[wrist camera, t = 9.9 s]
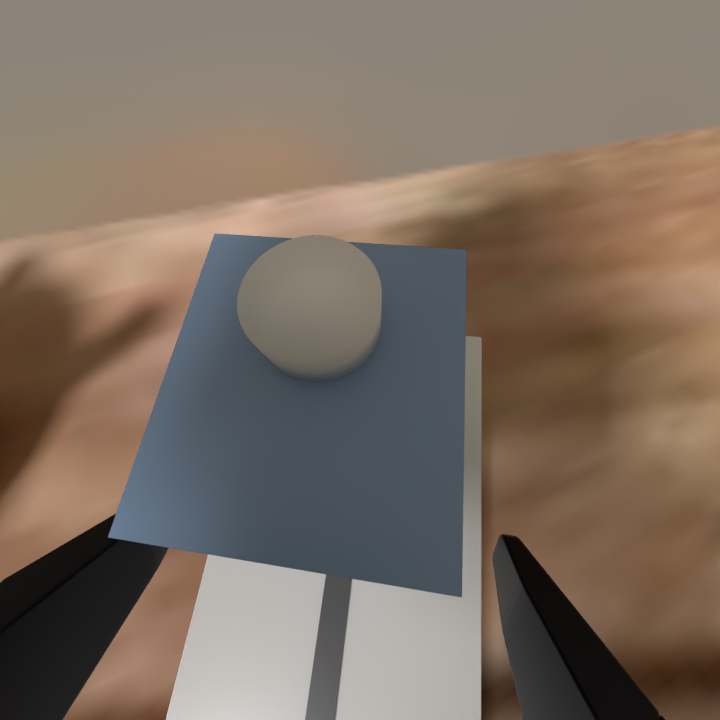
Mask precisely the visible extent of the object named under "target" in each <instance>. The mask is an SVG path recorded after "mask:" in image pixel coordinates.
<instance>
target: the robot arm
mask: <svg viewBox="0 0 720 720" xmlns="http://www.w3.org/2000/svg"><path fill="white" fill-rule="evenodd" d="M115 515H116V514H114V515H113V516H111V517H109V518H108V519H106V520H104V521H103V522H101V523H99V524H97V525H96V526H94V527H92V528H91V529H89V530H87V531H86V532H84V533H82V534H80V535H79V536H77V537H75V538H74V539H72V540H70V541H68V542H67V543H65V544H63V545H62V546H60V547H58V548H57V549H55V550H53V551H51V552H50V553H48V554H46V555H45V556H43V557H41V558H40V559H38V560H36V561H34V562H33V563H31V564H29V565H28V566H26V567H24V568H23V569H21V570H19V571H17V572H16V573H14V574H12V575H11V576H9V577H7V578H5V579H4V580H3V581H2V582H0V720H63V718H64V717H65V715H66V713H67V712H68V710H69V709H70V707H71V705H72V704H73V702H74V701H75V699H76V698H77V696H78V694H79V693H80V691H81V690H82V688H83V686H84V685H85V683H86V682H87V680H88V678H89V677H90V675H91V674H92V672H93V671H94V669H95V667H96V666H97V664H98V663H99V661H100V659H101V658H102V656H103V655H104V653H105V652H106V650H107V648H108V647H109V645H110V644H111V642H112V640H113V639H114V637H115V636H116V634H117V633H118V631H119V629H120V628H121V626H122V625H123V623H124V621H125V620H126V618H127V617H128V615H129V613H130V612H131V610H132V609H133V607H134V606H135V604H136V602H137V601H138V599H139V598H140V596H141V594H142V593H143V591H144V590H145V588H146V587H147V585H148V583H149V582H150V580H151V579H152V577H153V575H154V574H155V572H156V570H157V569H158V567H159V565H160V564H161V562H162V560H163V558H164V556H165V554H166V552H167V550H168V547H162V546H156V545H150V544H144V543H138V542H132V541H126V540H121V539H115V538H109V537H108V535H109V532H110V530H111V527H112V524H113V521H114V518H115ZM493 567H494V574H495V581H496V588H497V596H498V603H499V610H500V617H501V623H502V630H503V635H504V639H505V644H506V648H507V652H508V657H509V661H510V665H511V669H512V674H513V678H514V682H515V686H516V691H517V695H518V699H519V703H520V708H521V712H522V716H523V720H665V719H664V717H662V716H659V712H658V710H657V709H656V708H655V706H654V705H653V704H652V703H651V701H650V700H649V699H648V698H647V696H646V695H645V694H644V693H643V691H642V690H641V689H640V688H639V687H638V685H637V684H636V683H635V682H634V680H633V679H632V678H631V677H630V675H629V674H628V673H627V672H626V670H625V669H624V668H623V667H622V665H621V664H620V663H619V662H618V660H617V659H616V658H615V657H614V655H613V654H612V653H611V652H610V651H609V649H608V648H607V647H606V646H605V644H604V643H603V642H602V641H601V639H600V638H599V637H598V636H597V634H596V633H595V632H594V631H593V629H592V628H591V627H590V626H589V624H588V623H587V622H586V621H585V619H584V618H583V617H582V616H581V615H580V613H579V612H578V611H577V610H576V608H575V607H574V606H573V605H572V603H571V602H570V601H569V600H568V598H567V597H566V596H565V595H564V593H563V592H562V591H561V590H560V588H559V587H558V586H557V585H556V583H555V582H554V581H553V580H552V579H551V577H550V576H549V575H548V574H547V572H546V571H545V570H544V569H543V567H542V566H541V565H540V564H539V562H538V561H537V560H536V559H535V557H534V556H533V555H532V554H531V552H530V551H529V550H528V549H527V547H526V546H525V545H524V544H523V543H522V541H521V540H520V539H519V538H518V537H516V536H512V535H505V534H502V535H500V537H499V539H498V542H497V544H496V547H495V550H494V553H493Z"/></svg>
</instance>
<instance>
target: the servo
mask: <svg viewBox="0 0 720 720" xmlns="http://www.w3.org/2000/svg"><path fill="white" fill-rule="evenodd" d="M466 277H467V250H465V249H449V248H434V247H418V246H402V245H386V244H371V243H355V242H346V241H343V240H341V239H338V238H334V237H329V236H315V235H312V236H303V237H298V238H294V239H292V238H276V237H261V236H245V235H229V234H214V237H213V240H212V243H211V246H210V248H209V251H208V254H207V257H206V260H205V263H204V265H203V268H202V271H201V274H200V277H199V280H198V283H197V285H196V288H195V291H194V294H193V297H192V300H191V302H190V305H189V308H188V311H187V314H186V317H185V319H184V322H183V325H182V328H181V331H180V334H179V336H178V339H177V342H176V345H175V348H174V351H173V354H172V356H171V359H170V362H169V365H168V368H167V371H166V373H165V376H164V379H163V382H162V385H161V388H160V390H159V393H158V396H157V399H156V402H155V405H154V407H153V410H152V413H151V416H150V419H149V422H148V425H147V427H146V430H145V433H144V436H143V439H142V442H141V444H140V447H139V450H138V453H137V456H136V459H135V461H134V464H133V467H132V470H131V473H130V476H129V479H128V481H127V484H126V487H125V490H124V493H123V496H122V498H121V501H120V504H119V507H118V510H117V513H116V515H115V518H114V521H113V524H112V527H111V530H110V532H109V535H108V537H109V538H115V539H121V540H126V541H132V542H138V543H144V544H150V545H156V546H162V547H168V548H174V549H179V550H185V551H191V552H197V553H203V554H209V555H215V556H221V557H226V558H232V559H238V560H244V561H250V562H256V563H262V564H268V565H274V566H279V567H285V568H291V569H297V570H303V571H309V572H315V573H321V574H326V575H332V576H338V577H344V578H350V579H356V580H362V581H368V582H374V583H379V584H385V585H391V586H397V587H403V588H409V589H415V590H421V591H426V592H432V593H438V594H444V595H450V596H456V597H462V566H463V494H464V422H465V349H466Z"/></svg>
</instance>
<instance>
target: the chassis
mask: <svg viewBox="0 0 720 720" xmlns="http://www.w3.org/2000/svg"><path fill="white" fill-rule="evenodd" d="M481 459H482V337H472V336H466V349H465V422H464V494H463V566H462V597H456V596H450V595H444V594H438V593H432V592H426V591H421V590H415V589H409V588H403V587H397V586H391V585H385V584H379V583H374V582H368V581H362V580H356V579H350V578H344V577H338V576H332V575H326V574H321V573H315V572H309V571H303V570H297V569H291V568H285V567H279V566H274V565H268V564H262V563H256V562H250V561H244V560H238V559H232V558H226V557H221V556H215V555H209V554H208V557H207V561H206V565H205V569H204V573H203V577H202V581H201V585H200V588H199V592H198V596H197V600H196V604H195V608H194V612H193V616H192V620H191V623H190V627H189V631H188V635H187V639H186V643H185V647H184V651H183V654H182V658H181V662H180V666H179V670H178V674H177V678H176V682H175V686H174V689H173V693H172V697H171V701H170V705H169V709H168V713H167V717H166V720H481Z"/></svg>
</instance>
